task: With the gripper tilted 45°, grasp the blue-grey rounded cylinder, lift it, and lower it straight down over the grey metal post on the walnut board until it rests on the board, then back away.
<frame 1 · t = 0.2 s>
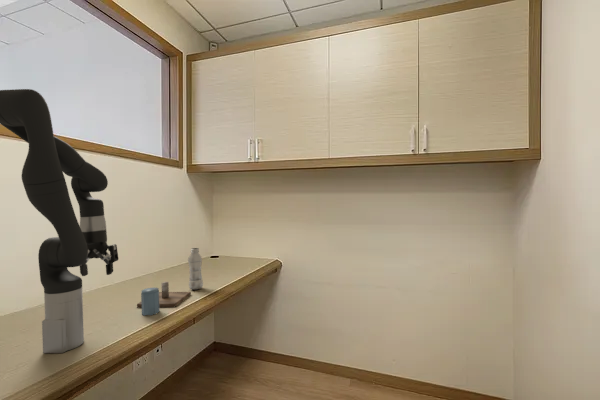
hand: (97, 274, 108), 18 cm above the table, tool pointing down, fingers open, 8 cm apart
post dock: (165, 300, 134), on the table
plastic bottle: (196, 289, 151), on the table
blue-grey rounded cylinder: (150, 312, 120), on the table
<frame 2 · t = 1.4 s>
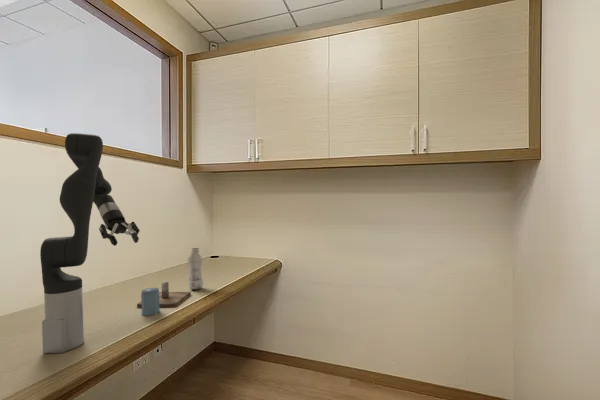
hand: (126, 242, 127), 27 cm above the table, tool tilted 45°, fingers open, 8 cm apart
nothing on the table moved.
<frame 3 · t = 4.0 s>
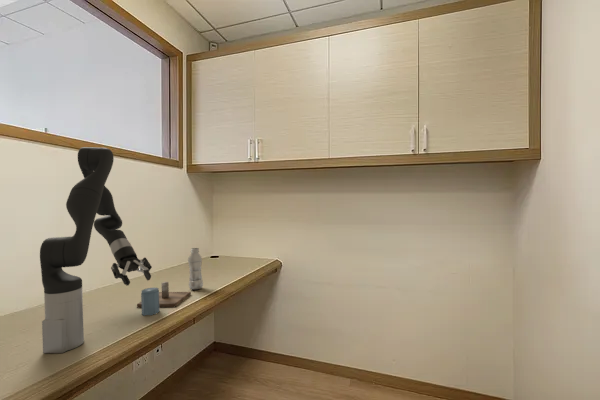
hand: (139, 281, 124), 11 cm above the table, tool tilted 45°, fingers open, 8 cm apart
nothing on the table moved.
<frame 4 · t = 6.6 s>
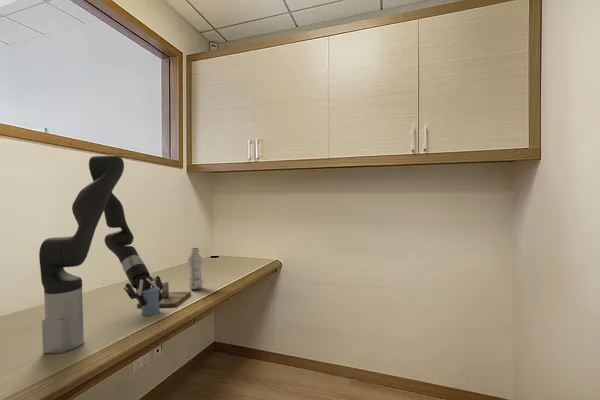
hand: (153, 302, 119), 4 cm above the table, tool tilted 45°, fingers closed on blue-grey rounded cylinder, 6 cm apart
blue-grey rounded cylinder: (150, 312, 120), on the table, touching gripper
everything else where it was.
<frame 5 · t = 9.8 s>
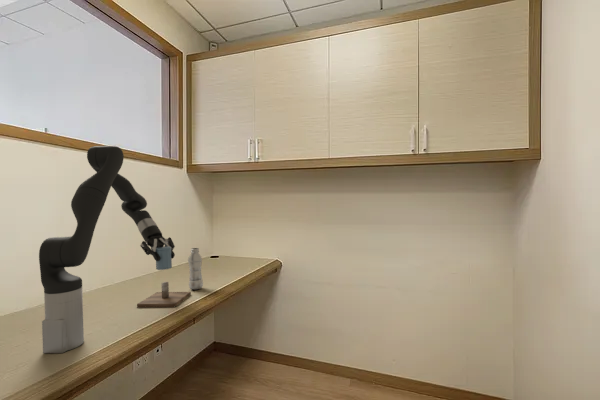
hand: (166, 258, 133), 19 cm above the table, tool tilted 45°, fingers closed on blue-grey rounded cylinder, 6 cm apart
blue-grey rounded cylinder: (164, 268, 134), point 14 cm above the table, touching gripper
everything else where it was.
when the fingers open (7 cm above the table, at t = 13.1 s): blue-grey rounded cylinder drops 1 cm, resting on post dock.
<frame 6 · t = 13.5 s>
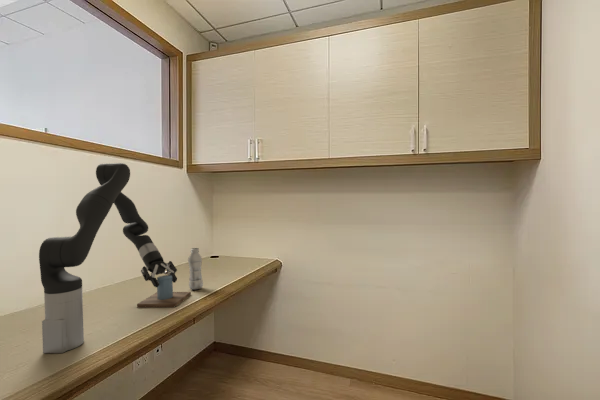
hand: (166, 283, 133), 8 cm above the table, tool tilted 45°, fingers open, 8 cm apart
blue-grey rounded cylinder: (165, 297, 134), point 1 cm above the table, touching post dock
everything else where it was.
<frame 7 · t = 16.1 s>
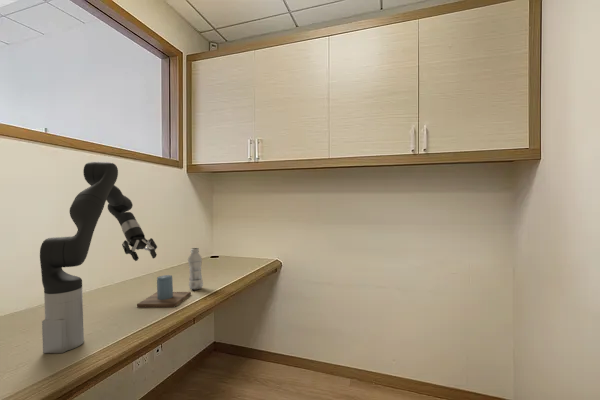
hand: (146, 258, 139), 18 cm above the table, tool tilted 40°, fingers open, 8 cm apart
nothing on the table moved.
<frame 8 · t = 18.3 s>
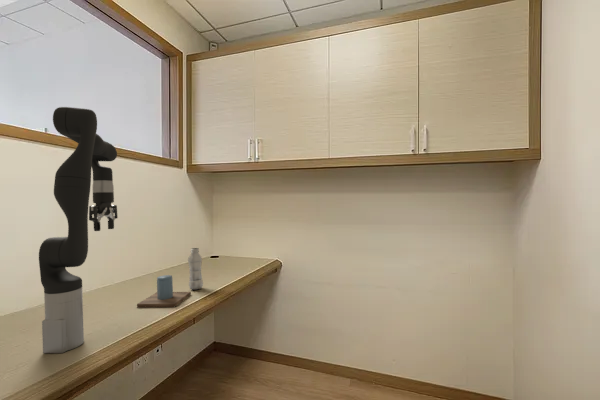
hand: (104, 229, 130), 32 cm above the table, tool pointing down, fingers open, 8 cm apart
nothing on the table moved.
at the end: blue-grey rounded cylinder 0.1 cm off-centre on the post dock, point 1.5 cm above the post dock's base; blue-grey rounded cylinder tilted 0°; the gripper is holding nothing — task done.
